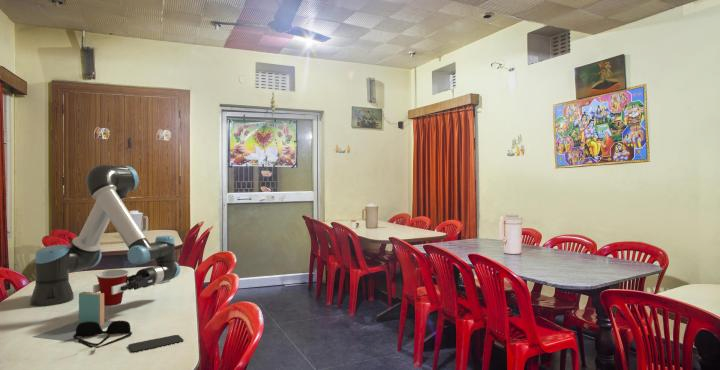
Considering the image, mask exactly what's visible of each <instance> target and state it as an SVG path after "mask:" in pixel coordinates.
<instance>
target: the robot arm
mask: <svg viewBox="0 0 720 370" xmlns="http://www.w3.org/2000/svg"><path fill="white" fill-rule="evenodd" d="M139 182H140V180H139V176H138V172H137V171H136V169H135V168H133V167H131V166H130V165H128V166H127V165H123V164H121V165H116V164H103V163H102V164H98V165H96V166H94V167H92V168H91V169H90V170H89V171H88V173H87V174H86V178H85V184H86V185H85V186H86V189H87V192H88V194H90V197H91V198H92V199H93V200H95V203H94V205H93V207H92V209H91V211H90V212H89V215H88V217H87V218H86V221H85V222H84V225H83V227H82V229H81V230H80V233H79V235H78V236H77V237H74V238H73V239H72V241H71V242H70V245H67V244H55V245H48V246H45V247H42V248H39V249H38V250H37V251H36V252H35V258H34V262H35V263H34V264H35V269H34V270H35V284H34V285H35V286H34V288H33V292H32V294H31V297H30V300H29V302H30V305H31V306H34V305H37V307H43V306H44V305H45V306H53V305H60V304H63V303H68V302H70V301H72V300H74V299H75V298H74V296H75V294H74V291H73V289H72V286H71V284H70V279H69V277H70V276H69V275H70V274H71V273H76V272H81V271H86V270H89V269H91V268H94V267H96V266H97V265H98V264H99V263H100V262H101V259H102V256H103V254H102V249H101V244H100V241H101V240H102V237H103V236H104V234H105V232H106V230H107V228H108V225H109V223H110V222H111V224H112V225H113V226H114V228H115V230H116V232H117V233H118V234H119V236H120V238H121V239H122V240H123V242H124V244H125V246H126V247H127V248H128V250H127V253H126V254H127V260H128V261H129V263H131V264H133V265H143V264H146V263H149V262H155V265H152V266H148V267H144V268H141V269H139V270H137V272H136V273H135V274H132V275H127V278H126V281H125V283H123V284H120V285H116V286H113V287H112V294H116V293H120V292H123V291H124V292H126V291H131V290H134V291H135V290H139V289H141V288H142V289H144V288H148V287H151V286H156V285H157V284H161V283H160V282H163V281H166V282H167V281H171V280H173V279H175V278H177V277H178V276H179V274H180V273H181V266H180V265H179V263H178V262H177V261H175V259H176V258H175V253H176V251H175V248H176V245H175V244H176V243H175V236H173V235H158V236H156V237H155V241H153V242H150V241H149V240H148V239H147V238H146V236H145V233H144V232H143V231H142V230H141V227H140V226H139V225H138V223H137V222H136V220H135V219H134V216H132V214H131V212H130V211H129V210H128V208H127V206H126V204H125V203H124V202H123V201H122V200H124V199H126V198H127V196H128V194H129V192H133V191H134V190H136V189H137V187H138V185H139ZM92 292H94V293H101V292H100V286H99V283H97V284H93V286H92ZM124 292H123V293H124ZM41 305H42V306H41ZM45 306H44V307H45Z"/></svg>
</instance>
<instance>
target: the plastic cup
mask: <svg viewBox="0 0 720 370" xmlns="http://www.w3.org/2000/svg"><path fill="white" fill-rule="evenodd" d="M129 273H130V272H129V271H128V270H125V269H119V268H118V269H106V270H102V271H98V272H96V273H95V277H97V282H98V284H99V286H100V292H99V293H104V307H112V306H119V305H120V304H122V301H123V295H124V293H125V291H123V292H120V293H116V294H112V287H113V286H116V285H120V284H123V283H125V281H126V278H127V276H129Z"/></svg>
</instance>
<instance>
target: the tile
mask: <svg viewBox="0 0 720 370" xmlns="http://www.w3.org/2000/svg"><path fill="white" fill-rule="evenodd" d="M104 320H105V306H104V293H101V292H96V293H94V292H93V291H82V292H79V293H78V321H79V324H80V323H82V322H87V321H94V322H97V323H99V325H100V326H102V325H104Z"/></svg>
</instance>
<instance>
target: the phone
mask: <svg viewBox="0 0 720 370" xmlns="http://www.w3.org/2000/svg"><path fill="white" fill-rule="evenodd" d="M179 342H181V343H183V342H184V339H183V338H182V336H180V335H179V334H174V335H173V334H172V335H169V336H163V337H158V338H154V339H149V340H147V339H146V340H143V341H136V342H134V343H130V344H127V345H128V346H127V348H128V349H129V351H130V352H131V353H132V352H136V353H139V351H141V352H144V351H143V350H145V351H149V349H150V350H154V349H158V347H159V348H163V347H167V345H168V346H172V345H176V344H175V343H177V344H180V343H179ZM171 344H172V345H171ZM162 346H163V347H162Z"/></svg>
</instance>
